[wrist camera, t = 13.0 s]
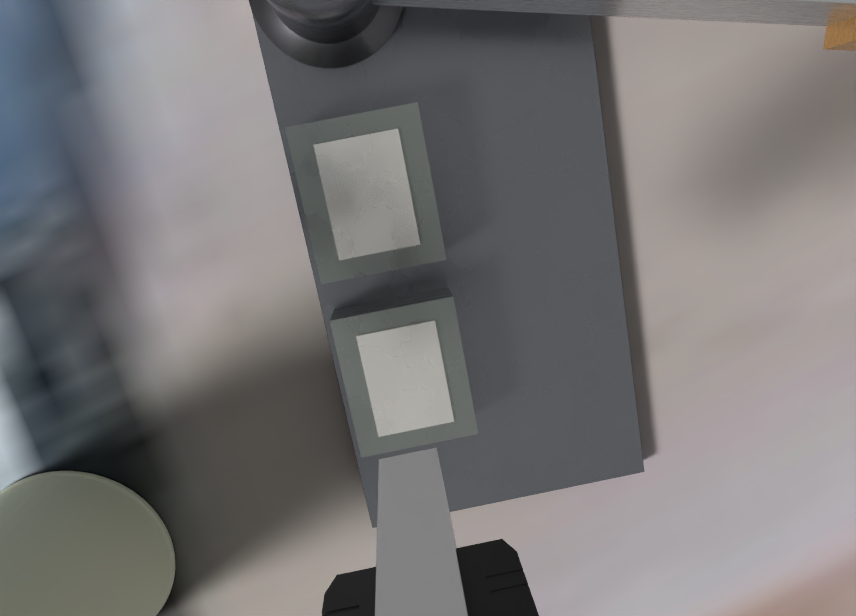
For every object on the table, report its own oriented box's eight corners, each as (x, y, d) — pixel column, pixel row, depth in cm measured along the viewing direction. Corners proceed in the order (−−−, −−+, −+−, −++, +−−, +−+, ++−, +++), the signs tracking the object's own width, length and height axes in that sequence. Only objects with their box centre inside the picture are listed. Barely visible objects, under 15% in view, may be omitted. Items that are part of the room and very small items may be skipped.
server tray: (234, -78, 24) (213, -112, 21) (564, -139, 24) (588, -180, 21) (372, 518, 30) (371, 555, 27) (637, 463, 30) (663, 494, 27)
